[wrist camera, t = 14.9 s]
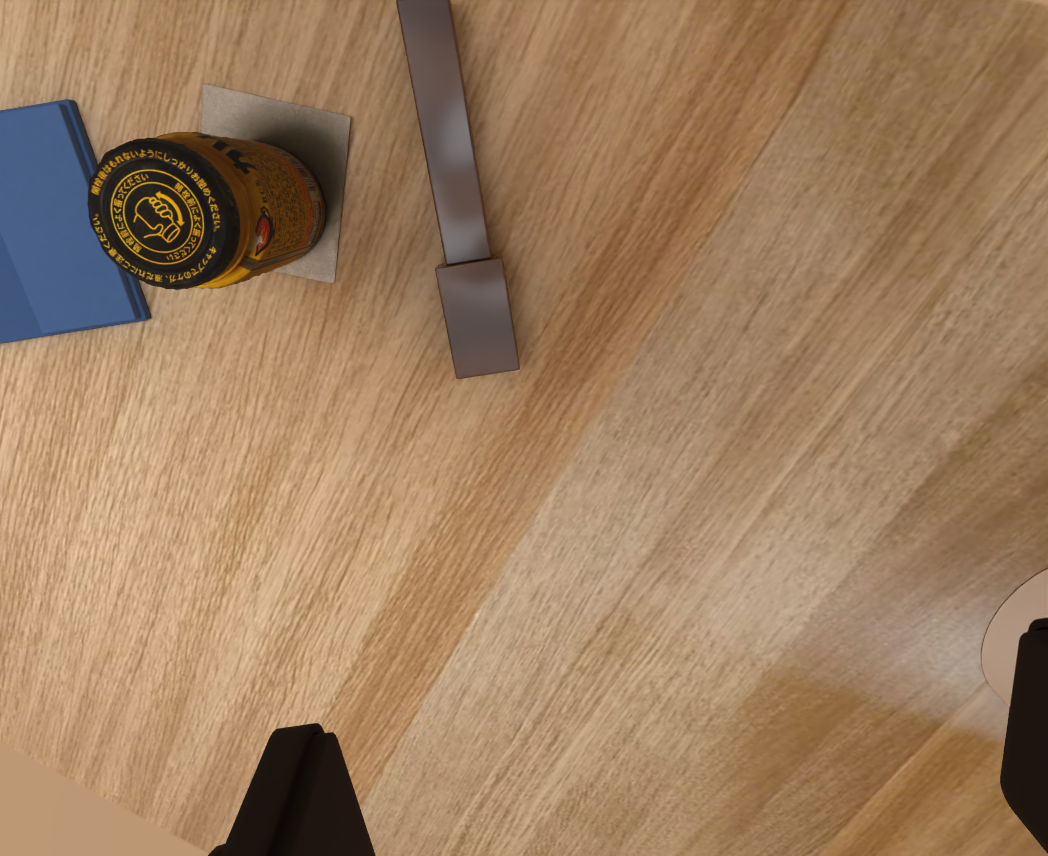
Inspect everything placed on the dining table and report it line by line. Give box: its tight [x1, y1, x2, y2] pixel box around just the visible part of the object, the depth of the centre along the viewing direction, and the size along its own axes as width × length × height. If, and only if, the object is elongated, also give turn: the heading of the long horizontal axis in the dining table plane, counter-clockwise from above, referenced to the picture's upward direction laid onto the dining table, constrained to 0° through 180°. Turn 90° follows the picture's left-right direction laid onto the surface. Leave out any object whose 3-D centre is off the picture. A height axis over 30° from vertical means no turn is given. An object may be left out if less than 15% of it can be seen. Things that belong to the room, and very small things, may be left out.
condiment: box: [87, 84, 351, 290], centre depth 29 cm, size 7×8×12 cm
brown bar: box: [396, 0, 520, 379], centre depth 34 cm, size 18×4×2 cm, turn 9°
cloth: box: [0, 100, 151, 343], centre depth 34 cm, size 11×11×1 cm
